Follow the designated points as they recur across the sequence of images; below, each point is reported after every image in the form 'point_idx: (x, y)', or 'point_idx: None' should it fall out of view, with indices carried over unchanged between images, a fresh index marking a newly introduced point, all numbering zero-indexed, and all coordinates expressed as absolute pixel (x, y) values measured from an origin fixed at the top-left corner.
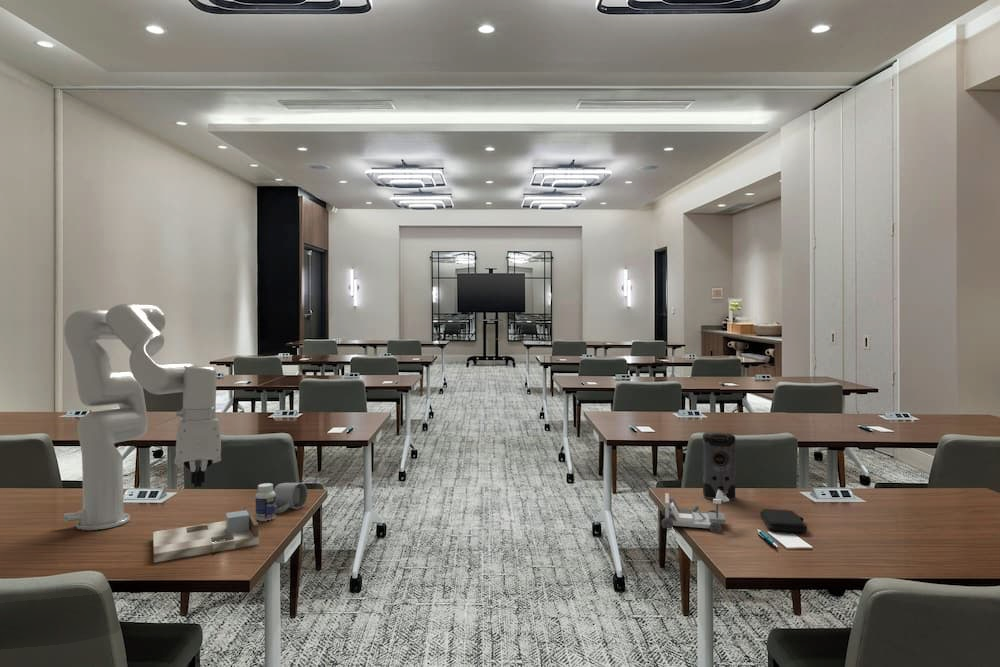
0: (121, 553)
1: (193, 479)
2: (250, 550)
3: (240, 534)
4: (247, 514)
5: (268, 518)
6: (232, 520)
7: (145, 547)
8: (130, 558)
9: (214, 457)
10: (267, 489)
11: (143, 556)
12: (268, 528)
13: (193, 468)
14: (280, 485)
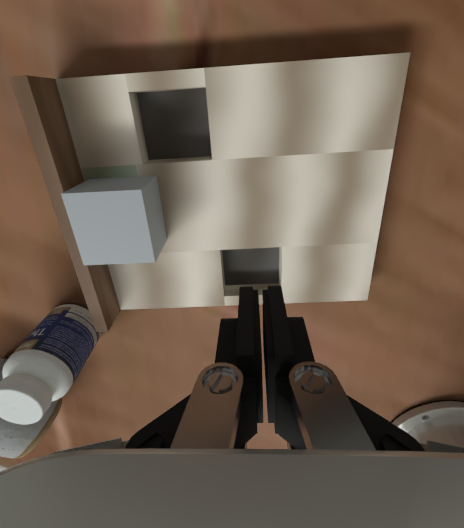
0: (455, 209)
1: (293, 330)
2: (76, 20)
3: (113, 143)
4: (68, 204)
5: (61, 307)
6: (128, 187)
7: (388, 231)
8: (446, 147)
9: (45, 464)
10: (9, 379)
11: (409, 147)
12: (53, 240)
13: (311, 393)
14: (12, 442)
